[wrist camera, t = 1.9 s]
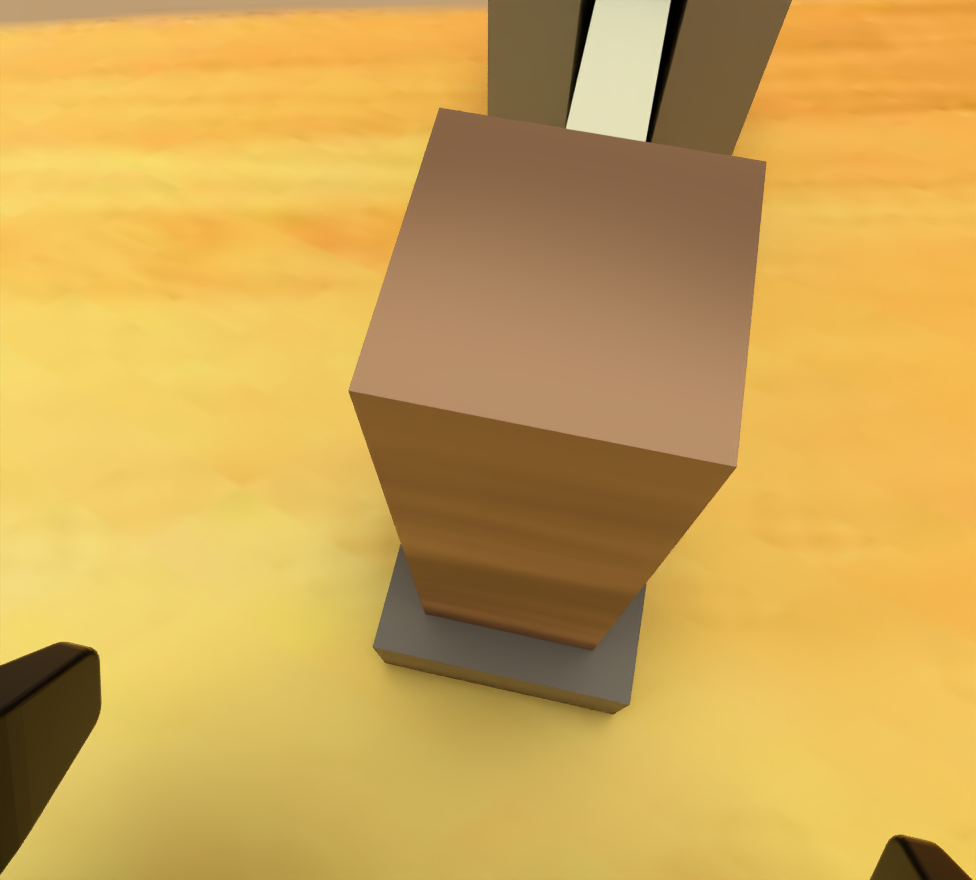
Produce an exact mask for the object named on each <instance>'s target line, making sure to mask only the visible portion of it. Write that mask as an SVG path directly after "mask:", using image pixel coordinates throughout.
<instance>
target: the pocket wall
mask: <svg viewBox="0 0 976 880" xmlns="http://www.w3.org/2000/svg"><path fill="white" fill-rule="evenodd" d="M595 1H596V0H488V116H492V117H498V118H504V119H510V120H517V121H523V122H529V123H535V124H541V125H547V126H553V127H559V128H565V129H566V126H567V122H568V117H569V113H570V109H571V104H572V100H573V96H574V92H575V87H576V83H577V79H578V74H579V70H580V66H581V62H582V57H583V53H584V49H585V44H586V40H587V36H588V31H589V27H590V23H591V19H592V14H593V10H594V6H595ZM791 1H792V0H671V2H670V7H669V13H668V18H667V24H666V30H665V35H664V41H663V47H662V52H661V58H660V63H659V69H658V75H657V80H656V86H655V91H654V97H653V103H652V108H651V114H650V119H649V125H648V131H647V136H646V142H650V143H656V144H662V145H668V146H674V147H680V148H686V149H692V150H698V151H704V152H710V153H717V154H723V155H729V156H731V155H732V153H733V150H734V148H735V145H736V142H737V140H738V137H739V135H740V132H741V130H742V127H743V124H744V122H745V119H746V117H747V114H748V112H749V109H750V106H751V104H752V101H753V99H754V96H755V94H756V91H757V89H758V86H759V83H760V81H761V78H762V76H763V73H764V71H765V68H766V65H767V63H768V60H769V58H770V55H771V53H772V50H773V47H774V45H775V42H776V40H777V37H778V35H779V32H780V29H781V27H782V24H783V22H784V19H785V17H786V14H787V11H788V9H789V6H790V4H791Z"/></svg>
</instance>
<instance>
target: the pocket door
mask: <svg viewBox="0 0 976 880" xmlns="http://www.w3.org/2000/svg"><path fill="white" fill-rule="evenodd" d="M670 2H671V0H596V1H595V6H594V10H593V14H592V19H591V23H590V27H589V31H588V36H587V40H586V44H585V49H584V53H583V57H582V62H581V66H580V70H579V74H578V79H577V83H576V87H575V92H574V96H573V100H572V104H571V109H570V113H569V117H568V122H567V126H566V129H571V130H577V131H583V132H589V133H595V134H601V135H607V136H613V137H620V138H626V139H632V140H638V141H644V142H646V136H647V131H648V125H649V119H650V114H651V108H652V103H653V97H654V91H655V86H656V80H657V75H658V69H659V63H660V58H661V52H662V47H663V41H664V35H665V30H666V24H667V18H668V13H669V7H670Z"/></svg>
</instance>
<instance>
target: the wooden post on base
mask: <svg viewBox="0 0 976 880" xmlns="http://www.w3.org/2000/svg"><path fill="white" fill-rule="evenodd" d="M765 170H766V162H765V161H759V160H753V159H747V158H741V157H735V156H729V155H723V154H717V153H710V152H704V151H698V150H692V149H686V148H680V147H674V146H668V145H662V144H656V143H650V142H644V141H638V140H632V139H626V138H620V137H613V136H607V135H601V134H595V133H589V132H583V131H577V130H571V129H565V128H559V127H553V126H547V125H541V124H535V123H529V122H523V121H517V120H510V119H504V118H498V117H492V116H486V115H480V114H474V113H468V112H462V111H456V110H450V109H444V108H439V111H438V114H437V117H436V120H435V123H434V126H433V129H432V133H431V136H430V139H429V142H428V145H427V148H426V151H425V154H424V157H423V161H422V164H421V167H420V170H419V173H418V176H417V179H416V182H415V185H414V189H413V192H412V195H411V198H410V201H409V204H408V207H407V210H406V213H405V216H404V220H403V223H402V226H401V229H400V232H399V235H398V238H397V241H396V244H395V248H394V251H393V254H392V257H391V260H390V263H389V266H388V269H387V272H386V276H385V279H384V282H383V285H382V288H381V291H380V294H379V297H378V300H377V303H376V307H375V310H374V313H373V316H372V319H371V322H370V325H369V328H368V331H367V335H366V338H365V341H364V344H363V347H362V350H361V353H360V356H359V359H358V362H357V366H356V369H355V372H354V375H353V378H352V381H351V384H350V387H349V390H348V391H349V394H350V397H351V399H352V402H353V405H354V408H355V411H356V414H357V417H358V420H359V423H360V426H361V429H362V431H363V434H364V437H365V440H366V443H367V446H368V449H369V452H370V455H371V458H372V461H373V463H374V466H375V469H376V472H377V475H378V478H379V481H380V484H381V487H382V490H383V493H384V495H385V498H386V501H387V504H388V507H389V510H390V513H391V516H392V519H393V522H394V525H395V527H396V530H397V533H398V536H399V539H400V542H401V545H400V549H399V552H398V556H397V560H396V563H395V567H394V571H393V575H392V578H391V582H390V586H389V589H388V593H387V597H386V601H385V604H384V608H383V612H382V616H381V619H380V623H379V627H378V630H377V634H376V638H375V642H374V645H373V648H374V649H375V650H376V652H377V653H378V654H379V655H380V657H381V658H382V659H383V660H384V662H385V663H388V664H393V665H397V666H402V667H406V668H410V669H415V670H419V671H424V672H428V673H433V674H437V675H442V676H446V677H450V678H455V679H459V680H464V681H468V682H473V683H477V684H482V685H486V686H490V687H495V688H499V689H504V690H508V691H513V692H517V693H522V694H526V695H530V696H535V697H539V698H544V699H548V700H553V701H557V702H562V703H566V704H570V705H575V706H579V707H584V708H588V709H593V710H597V711H602V712H606V713H610V714H614V713H616V712H618V711H620V710H621V709H623V708H625V707H626V706H628V705H630V698H631V691H632V684H633V676H634V669H635V662H636V655H637V647H638V640H639V633H640V626H641V618H642V611H643V604H644V597H645V589H646V582H647V581H648V580H649V578H650V577H651V576H652V575H653V573H654V572H655V571H656V570H657V568H658V567H659V566H660V564H661V563H662V562H663V561H664V559H665V558H666V557H667V555H668V554H669V553H670V552H671V550H672V549H673V548H674V547H675V545H676V544H677V543H678V541H679V540H680V539H681V538H682V536H683V535H684V534H685V532H686V531H687V530H688V529H689V527H690V526H691V525H692V524H693V522H694V521H695V520H696V518H697V517H698V516H699V515H700V513H701V512H702V511H703V509H704V508H705V507H706V506H707V504H708V503H709V502H710V501H711V499H712V498H713V497H714V495H715V494H716V493H717V492H718V490H719V489H720V488H721V486H722V485H723V484H724V483H725V481H726V480H727V479H728V478H729V476H730V475H731V474H732V472H733V471H734V470H735V469H736V467H737V459H738V448H739V438H740V428H741V418H742V407H743V397H744V387H745V376H746V366H747V356H748V345H749V335H750V325H751V315H752V304H753V294H754V284H755V273H756V263H757V253H758V243H759V232H760V222H761V212H762V201H763V191H764V181H765Z"/></svg>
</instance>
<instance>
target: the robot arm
mask: <svg viewBox="0 0 976 880" xmlns="http://www.w3.org/2000/svg"><path fill="white" fill-rule="evenodd" d="M100 710H101V680H100V659H99V655H98V653H97V651H96V650H95V649H93V648H91V647H87V646H83V645H78V644H74V643H70V642H59V643H56V644H53V645H50V646H48V647H45V648H43V649H40V650H38V651H35V652H33V653H30V654H28V655H25V656H23V657H20V658H18V659H15V660H13V661H10V662H8V663H5V664H3V665H0V874H1V873H2V872H3V870H4V869H5V868H6V866H7V865H8V863H9V862H10V861H11V859H12V858H13V856H14V855H15V854H16V852H17V851H18V850H19V848H20V847H21V845H22V843H23V842H24V840H25V839H26V837H27V836H28V834H29V833H30V831H31V830H32V828H33V826H34V825H35V823H36V822H37V820H38V818H39V817H40V815H41V813H42V812H43V810H44V808H45V807H46V805H47V804H48V802H49V800H50V799H51V797H52V795H53V794H54V792H55V790H56V789H57V787H58V785H59V784H60V782H61V781H62V779H63V777H64V776H65V774H66V772H67V771H68V769H69V767H70V766H71V764H72V763H73V761H74V759H75V758H76V756H77V754H78V753H79V751H80V749H81V748H82V746H83V745H84V743H85V741H86V740H87V738H88V736H89V735H90V733H91V731H92V730H93V728H94V726H95V724H96V722H97V720H98V717H99V714H100ZM870 880H972V879H971V878H970V877H969V876H968V875H967V874H966V873H965V872H964V871H963V870H962V869H961V868H960V867H959V866H958V865H957V864H956V863H955V861H954V860H953V859H952V858H951V857H950V856H949V855H948V854H947V853H946V852H945V851H944V850H943V849H942V848H940V847H939V846H938V845H937V844H935V843H933V842H930V841H927V840H923V839H918V838H914V837H910V836H905V835H895V836H893V837H892V838H890V839H889V841H888V843H887V844H886V846H885V849H884V851H883V853H882V855H881V857H880V859H879V861H878V864H877V866H876V868H875V870H874V872H873V874H872V876H871V878H870Z"/></svg>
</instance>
